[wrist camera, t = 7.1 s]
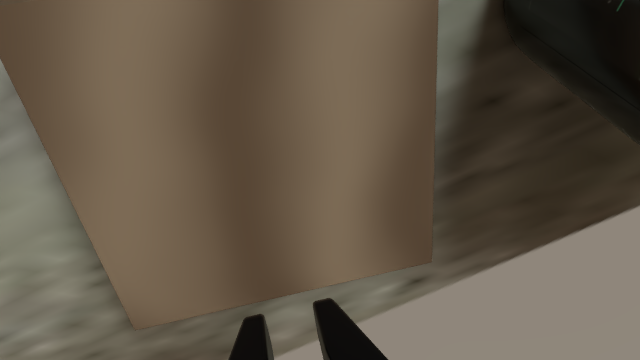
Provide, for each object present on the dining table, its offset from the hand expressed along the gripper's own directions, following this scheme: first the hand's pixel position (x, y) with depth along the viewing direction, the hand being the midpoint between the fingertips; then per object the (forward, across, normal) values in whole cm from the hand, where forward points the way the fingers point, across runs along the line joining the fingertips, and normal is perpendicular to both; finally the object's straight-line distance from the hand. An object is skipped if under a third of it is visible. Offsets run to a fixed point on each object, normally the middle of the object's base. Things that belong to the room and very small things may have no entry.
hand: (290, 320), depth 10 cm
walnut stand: (+10, 0, 0) cm, 10 cm away
